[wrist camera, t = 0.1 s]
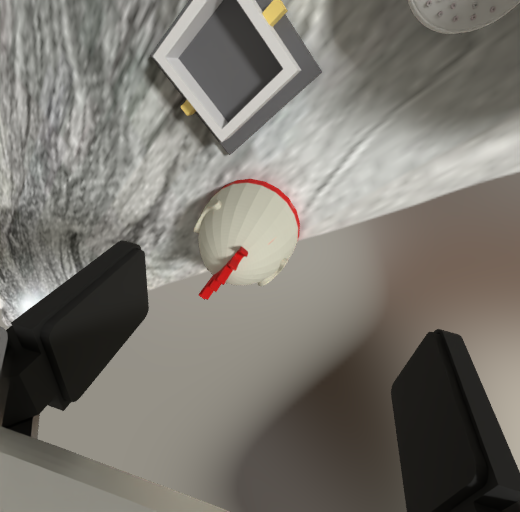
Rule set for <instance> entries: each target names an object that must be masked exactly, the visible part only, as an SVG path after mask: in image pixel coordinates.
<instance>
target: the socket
mask: <svg viewBox="0 0 520 512" xmlns="http://www.w3.org/2000/svg"><path fill="white" fill-rule="evenodd" d="M286 12H287V9H286V8H285V6H284V4H283V3H282V1H281V0H189V1H188V3H187V4H186V5H185V7H184V8H183V10H182V11H181V13H180V14H179V15H178V17H177V18H176V20H175V21H174V22H173V24H172V25H171V27H170V28H169V29H168V31H167V32H166V34H165V35H164V36H163V38H162V39H161V41H160V42H159V44H158V45H157V46H156V48H155V49H154V51H153V52H152V53H151V55H150V56H151V57H152V59H153V60H154V61H155V62H156V64H157V65H158V66H159V67H160V69H161V70H162V71H163V72H164V74H165V75H166V76H167V77H168V79H169V80H170V81H171V82H172V84H173V85H174V86H175V87H176V89H177V90H178V91H179V92H180V94H181V95H182V96H183V97H184V99H185V100H186V101H185V102H184V104H183V105H182V106H181V109H182V110H183V111H184V112H185V114H186V115H187V116H189V115H192V114H194V113H195V112H196V114H197V115H198V116H199V117H200V119H201V120H202V121H203V122H204V124H205V125H206V126H207V127H208V129H209V130H210V131H211V132H212V134H213V135H214V136H215V137H216V139H217V140H218V141H219V142H220V144H221V145H222V146H223V147H224V149H225V150H226V151H227V152H228V154H229V155H230V154H231V153H233V152H234V151H235V150H236V149H237V148H238V147H239V146H240V145H242V144H243V143H244V142H245V141H246V140H247V139H248V138H249V137H250V136H252V135H253V134H254V133H255V132H256V131H257V130H258V129H259V128H260V127H262V126H263V125H264V124H265V123H266V122H267V121H268V120H269V119H270V118H272V117H273V116H274V115H275V114H276V113H277V112H278V111H279V110H280V109H282V108H283V107H284V106H285V105H286V104H287V103H288V102H289V101H290V100H292V99H293V98H294V97H295V96H296V95H297V94H298V93H299V92H301V91H302V90H303V89H304V88H305V87H306V86H307V85H308V84H309V83H311V82H312V81H313V80H314V79H315V78H316V77H317V76H318V75H319V74H321V73H322V71H321V70H320V68H319V66H318V65H317V63H316V62H315V60H314V59H313V57H312V56H311V54H310V52H309V51H308V49H307V48H306V46H305V45H304V43H303V41H302V40H301V38H300V37H299V35H298V34H297V32H296V30H295V29H294V27H293V26H292V24H291V23H290V21H289V20H288V18H287V16H286V15H285V13H286Z"/></svg>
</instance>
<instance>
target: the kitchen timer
mask: <svg viewBox="0 0 520 512" xmlns="http://www.w3.org/2000/svg"><path fill="white" fill-rule="evenodd" d="M299 227H300V223H299V219H298V215H297V211H296V209H295V208H294V206H293V204H292V203H291V201H290V199H289V198H288V197H287V196H286V195H285V194H284V193H282V192H281V191H280V190H279V189H278V188H276V187H274V186H272V185H270V184H268V183H266V182H264V181H258V180H253V179H245V180H237V181H234V182H232V183H230V184H227V185H225V186H224V187H223V188H222V189H221V190H220V191H218V192H217V193H216V194H215V195H214V196H213V197H212V198H211V200H210V201H209V203H208V204H207V205H206V207H205V208H204V210H203V212H202V214H201V216H200V218H199V220H198V222H197V223H196V225H195V228H194V232H195V233H199V237H198V241H199V248H200V254H201V257H202V259H203V262H204V264H205V266H206V267H207V269H208V270H209V271H210V272H211V274H212V275H213V276H212V278H211V279H210V280H209V281H208V283H207V284H206V285H205V287H204V288H203V289H202V291H201V292H200V293H199V296H200V297H202V298H203V299H207V300H208V298H209V297H210V295H211V294H212V293H213V291H215V292H216V291H217V290H218V288H219V287H220V285H221V284H223V285H224V284H225V283H228V284H231V285H250V284H254V283H258V285H259V286H264V285H266V284H267V283H269V282H270V281H271V280H272V279H273V278H274V277H275V276H277V275H278V274H279V273H280V272H281V271H282V270H283V268H284V266H285V265H286V264H287V262H288V259H289V258H290V257H291V255H292V253H293V251H294V249H295V246H296V244H297V241H298V238H299Z"/></svg>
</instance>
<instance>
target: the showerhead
mask: <svg viewBox="0 0 520 512" xmlns="http://www.w3.org/2000/svg"><path fill="white" fill-rule="evenodd" d="M407 1H408V4H409V6H410V8H411V10H412V12H413V14H414V15H415V17H416V18H417V19H418V20H419V21H420V22H421V23H422V24H423V25H424V26H425V27H427V28H429V29H430V30H433V31H436V32H439V33H444V34H460V33H466V32H471V31H474V30H478V29H480V28H483V27H485V26H487V25H489V24H491V23H493V22H495V21H497V20H498V19H500V18H501V17H503V16H504V15H506V14H507V13H508V12H510V11H511V10H512V9H513V8H515V7H516V6H517V5H518V4H519V3H520V0H407Z"/></svg>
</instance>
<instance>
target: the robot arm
mask: <svg viewBox="0 0 520 512" xmlns="http://www.w3.org/2000/svg"><path fill="white" fill-rule="evenodd" d="M148 308H149V307H148V293H147V279H146V265H145V253H144V251H142V250H141V247H140V246H139V245H137V244H134V243H130V242H127V241H119V242H118V243H116V244H115V245H114V246H112V247H111V248H110V249H109V250H107V251H106V252H105V253H103V254H102V255H101V256H99V257H98V258H97V259H95V260H94V261H93V262H91V263H90V264H89V265H87V266H86V267H85V268H83V269H82V270H81V271H79V272H78V273H77V274H75V275H74V276H73V277H71V278H70V279H69V280H67V281H66V282H65V283H63V284H62V285H61V286H59V287H58V288H57V289H55V290H54V291H53V292H51V293H50V294H49V295H47V296H46V297H45V298H43V299H42V300H41V301H39V302H38V303H37V304H35V305H34V306H33V307H31V308H30V309H29V310H27V311H26V312H25V313H23V314H22V315H21V316H19V317H18V318H17V319H15V320H14V321H13V322H11V324H12V326H11V327H10V328H8V329H7V330H5V329H4V328H3V327H0V512H230V511H227V510H225V509H222V508H219V507H217V506H214V505H211V504H209V503H206V502H203V501H201V500H198V499H196V498H193V497H190V496H188V495H185V494H182V493H180V492H177V491H175V490H172V489H169V488H167V487H164V486H161V485H159V484H156V483H154V482H151V481H148V480H146V479H143V478H140V477H138V476H135V475H132V474H130V473H127V472H124V471H122V470H119V469H116V468H114V467H111V466H108V465H106V464H103V463H100V462H98V461H95V460H92V459H90V458H87V457H84V456H82V455H79V454H76V453H74V452H71V451H68V450H66V449H63V448H60V447H57V446H55V445H52V444H49V443H46V442H43V441H41V440H38V439H37V438H38V427H39V416H40V415H39V414H40V412H41V411H42V410H43V409H44V408H45V407H46V406H47V405H49V406H51V407H54V408H57V409H60V410H62V411H64V410H65V409H66V407H67V406H68V405H69V404H70V403H71V402H75V401H77V400H78V399H79V398H80V397H81V396H82V394H83V393H84V392H85V391H86V390H87V388H88V387H89V386H90V385H91V384H92V382H93V381H94V380H95V378H96V377H97V376H98V375H99V374H100V373H101V371H102V370H103V369H104V368H105V366H106V365H107V364H108V363H109V361H110V360H111V359H112V358H113V357H114V355H115V354H116V353H117V352H118V350H119V349H120V348H121V347H122V346H123V344H124V343H125V342H126V341H127V339H128V338H129V337H130V336H131V334H132V333H133V332H134V331H135V330H136V328H137V327H138V326H139V325H140V323H141V322H142V321H143V320H144V319H145V317H146V315H147V313H148ZM391 395H392V404H393V411H394V419H395V426H396V434H397V441H398V448H399V455H400V463H401V471H402V478H403V485H404V493H405V500H406V508H407V512H520V472H519V470H518V467H517V465H516V463H515V460H514V458H513V456H512V454H511V451H510V449H509V447H508V444H507V442H506V439H505V437H504V435H503V432H502V430H501V428H500V425H499V423H498V421H497V418H496V416H495V414H494V411H493V409H492V407H491V404H490V402H489V400H488V397H487V395H486V393H485V390H484V388H483V385H482V383H481V381H480V378H479V376H478V374H477V371H476V369H475V367H474V365H473V362H472V360H471V357H470V355H469V353H468V351H467V348H466V346H465V344H464V341H463V339H462V337H461V336H460V335H458V334H454V333H451V332H448V331H444V330H440V329H437V330H435V331H434V332H429V333H428V334H427V335H426V336H425V338H424V339H423V341H422V342H421V344H420V345H419V346H418V348H417V349H416V351H415V352H414V354H413V355H412V357H411V358H410V360H409V361H408V362H407V364H406V365H405V367H404V368H403V370H402V371H401V373H400V374H399V376H398V377H397V379H396V380H395V381H394V383H393V385H392V389H391Z"/></svg>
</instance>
